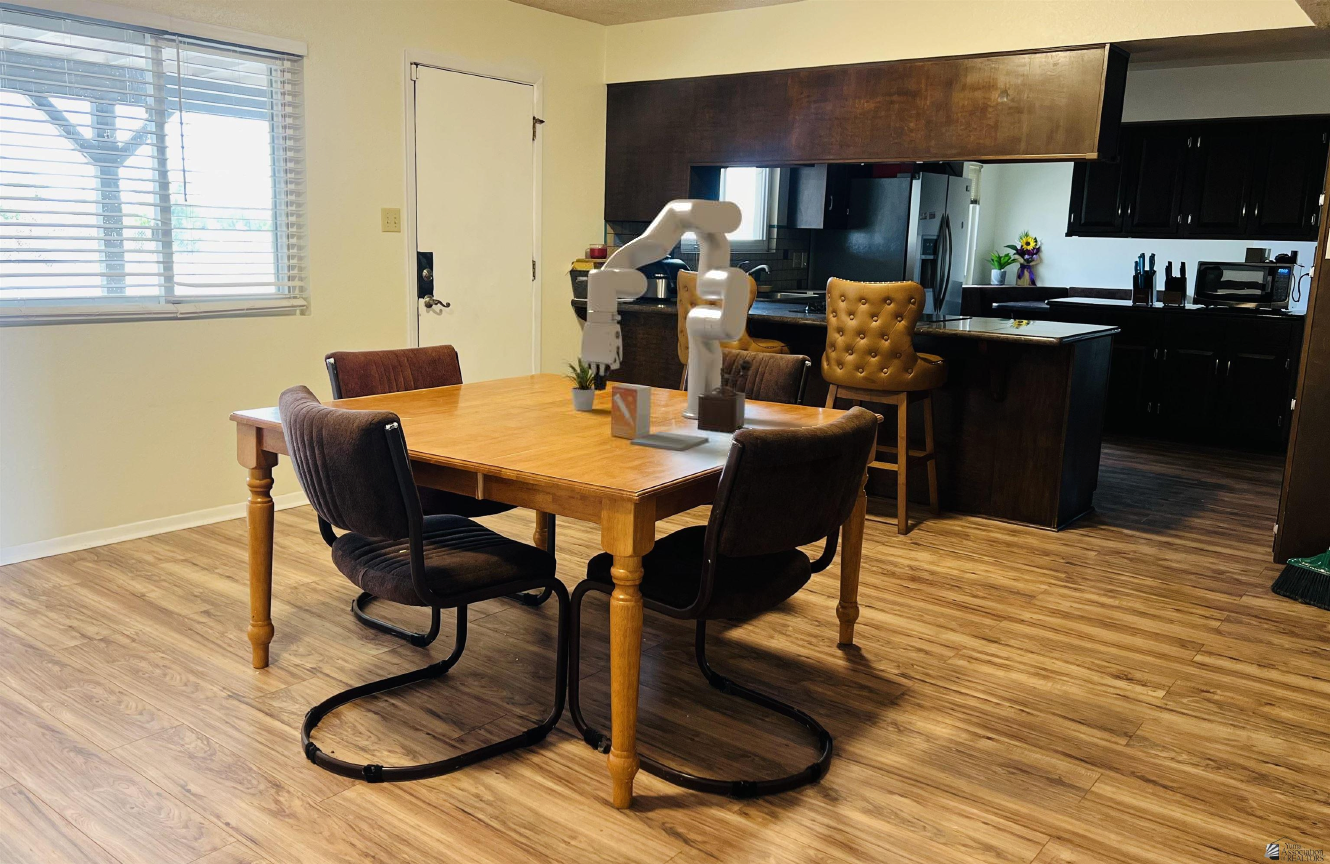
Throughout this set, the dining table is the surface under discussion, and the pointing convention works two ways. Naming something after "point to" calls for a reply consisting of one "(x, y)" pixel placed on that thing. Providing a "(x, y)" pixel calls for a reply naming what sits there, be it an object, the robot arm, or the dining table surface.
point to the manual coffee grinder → (723, 404)
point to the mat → (669, 441)
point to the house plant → (582, 388)
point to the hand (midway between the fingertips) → (599, 389)
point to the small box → (630, 411)
